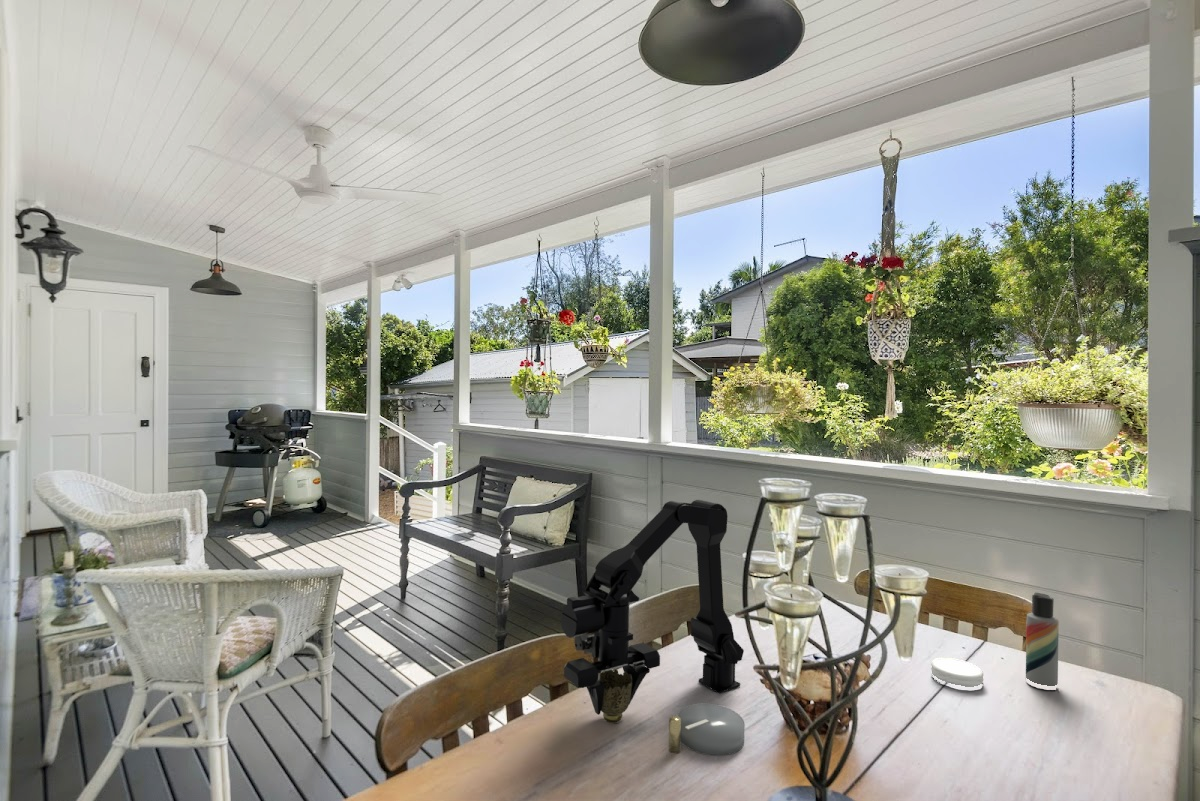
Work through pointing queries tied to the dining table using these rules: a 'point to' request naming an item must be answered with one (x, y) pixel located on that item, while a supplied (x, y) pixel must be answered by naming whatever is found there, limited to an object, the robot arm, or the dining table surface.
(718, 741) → the computer mouse
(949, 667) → the coaster
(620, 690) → the cup
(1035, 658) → the lotion bottle
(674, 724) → the brass dowel
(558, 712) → the dining table surface
